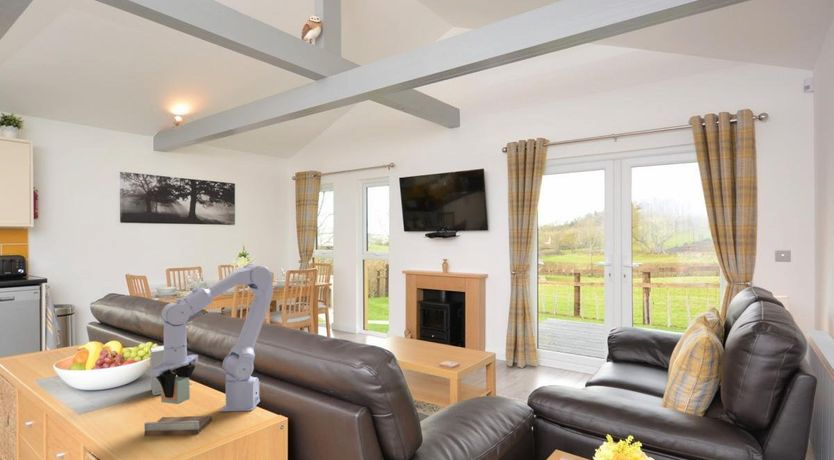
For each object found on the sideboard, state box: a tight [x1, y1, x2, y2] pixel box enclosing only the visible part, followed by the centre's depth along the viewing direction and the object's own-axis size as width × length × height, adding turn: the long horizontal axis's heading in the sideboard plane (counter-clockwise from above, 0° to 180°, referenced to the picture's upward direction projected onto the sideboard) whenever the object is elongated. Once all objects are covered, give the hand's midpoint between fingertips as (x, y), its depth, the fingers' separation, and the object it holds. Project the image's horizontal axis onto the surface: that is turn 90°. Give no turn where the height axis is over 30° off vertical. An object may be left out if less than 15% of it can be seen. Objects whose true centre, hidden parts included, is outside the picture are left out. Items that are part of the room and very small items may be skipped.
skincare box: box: [149, 345, 164, 396], centre depth 152 cm, size 8×6×15 cm
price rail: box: [143, 421, 199, 431], centre depth 118 cm, size 14×1×2 cm, turn 92°
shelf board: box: [143, 415, 213, 437], centre depth 123 cm, size 14×9×1 cm, turn 92°
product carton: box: [160, 376, 191, 405], centre depth 125 cm, size 4×6×6 cm
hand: (175, 394), depth 125 cm, fingers closed on product carton, 4 cm apart
